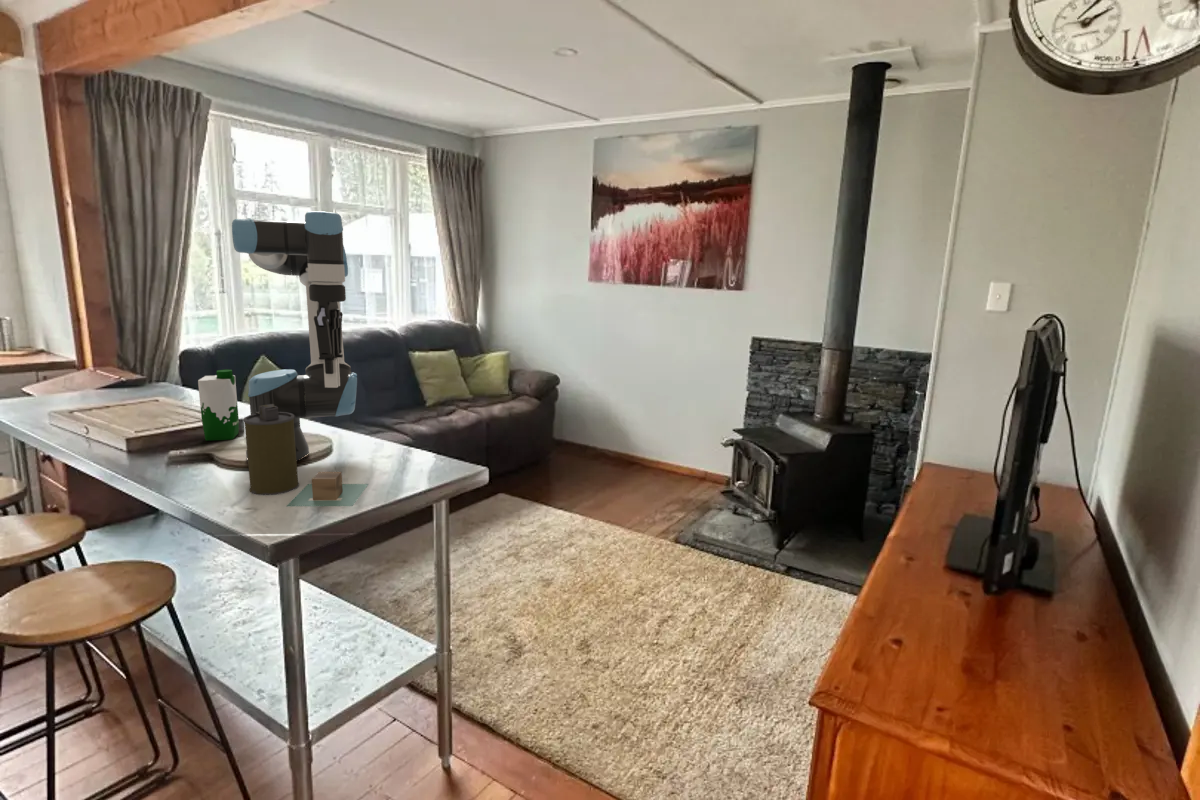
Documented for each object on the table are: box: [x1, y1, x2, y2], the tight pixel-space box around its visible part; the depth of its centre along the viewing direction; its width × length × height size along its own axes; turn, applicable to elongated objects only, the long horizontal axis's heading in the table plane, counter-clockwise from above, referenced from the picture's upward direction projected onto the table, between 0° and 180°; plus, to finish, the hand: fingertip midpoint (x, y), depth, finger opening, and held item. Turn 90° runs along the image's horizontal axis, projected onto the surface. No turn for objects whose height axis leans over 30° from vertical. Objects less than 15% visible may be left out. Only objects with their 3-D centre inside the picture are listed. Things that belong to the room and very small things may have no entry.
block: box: [311, 471, 343, 500], centre depth 142 cm, size 5×5×5 cm
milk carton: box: [197, 368, 240, 442], centre depth 183 cm, size 9×9×20 cm
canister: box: [242, 404, 300, 496], centre depth 145 cm, size 11×10×20 cm
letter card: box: [286, 483, 369, 507], centre depth 144 cm, size 14×14×1 cm
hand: (332, 386), depth 145 cm, fingers closed
